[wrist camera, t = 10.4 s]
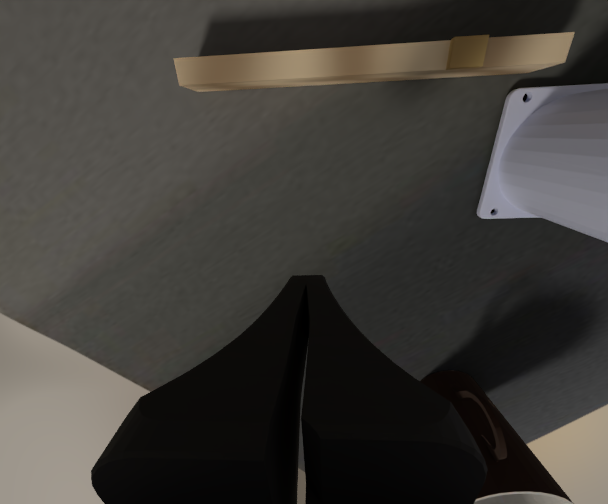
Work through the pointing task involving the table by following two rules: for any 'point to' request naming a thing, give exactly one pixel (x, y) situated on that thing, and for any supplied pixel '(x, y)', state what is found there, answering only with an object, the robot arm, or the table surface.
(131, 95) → the table surface
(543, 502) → the coffee mug
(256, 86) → the beam track
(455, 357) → the table surface
